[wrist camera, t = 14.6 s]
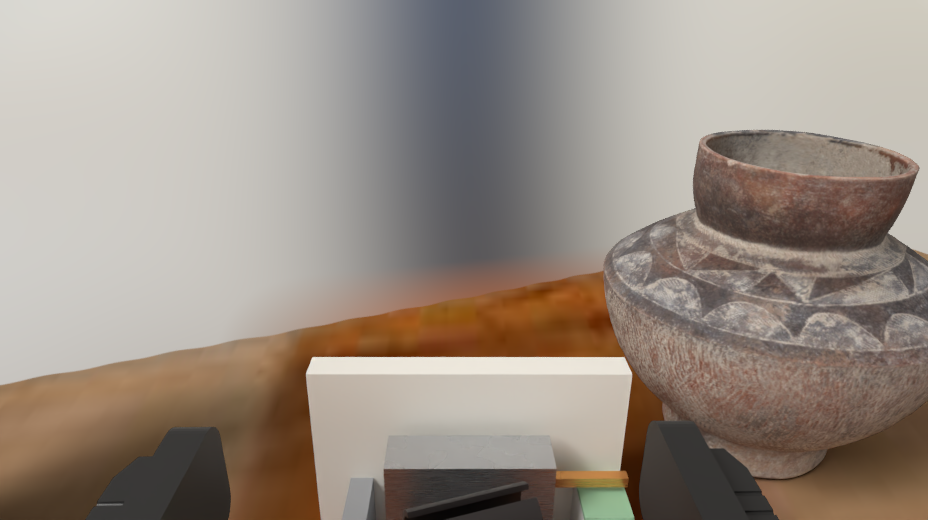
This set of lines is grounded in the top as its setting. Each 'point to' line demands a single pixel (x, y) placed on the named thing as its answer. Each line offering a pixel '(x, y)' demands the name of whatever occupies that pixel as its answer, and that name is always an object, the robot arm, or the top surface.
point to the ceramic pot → (779, 299)
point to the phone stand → (481, 506)
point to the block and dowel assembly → (478, 470)
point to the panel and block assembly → (466, 420)
